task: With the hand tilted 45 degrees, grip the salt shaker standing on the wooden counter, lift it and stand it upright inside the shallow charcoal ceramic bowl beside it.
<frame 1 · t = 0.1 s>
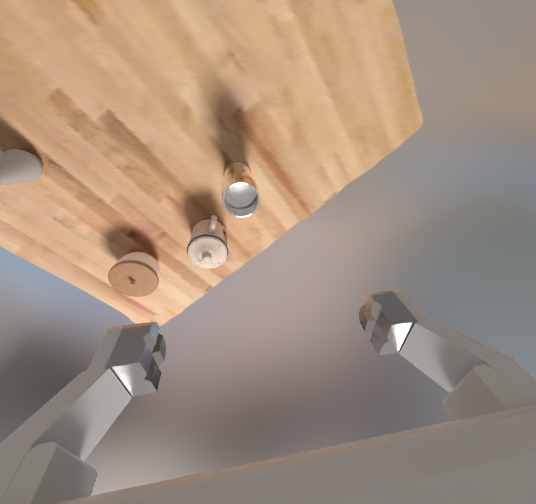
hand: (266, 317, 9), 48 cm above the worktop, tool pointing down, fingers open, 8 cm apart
lidded jar: (143, 261, 62), on the worktop
salt shaker: (31, 162, 46), on the worktop
teacup with lid: (210, 228, 60), on the worktop
beer glass: (237, 175, 53), on the worktop
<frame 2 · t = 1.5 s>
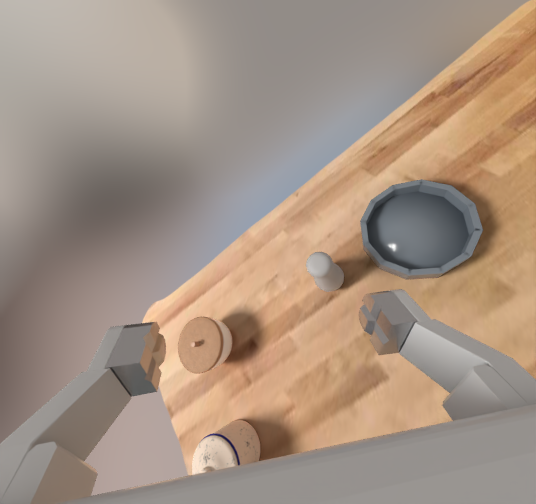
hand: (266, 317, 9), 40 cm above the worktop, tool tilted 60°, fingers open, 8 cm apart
lidded jar: (220, 342, 54), on the worktop
salt shaker: (330, 279, 48), on the worktop
bowl: (412, 232, 45), on the worktop
teacup with lid: (247, 449, 45), on the worktop
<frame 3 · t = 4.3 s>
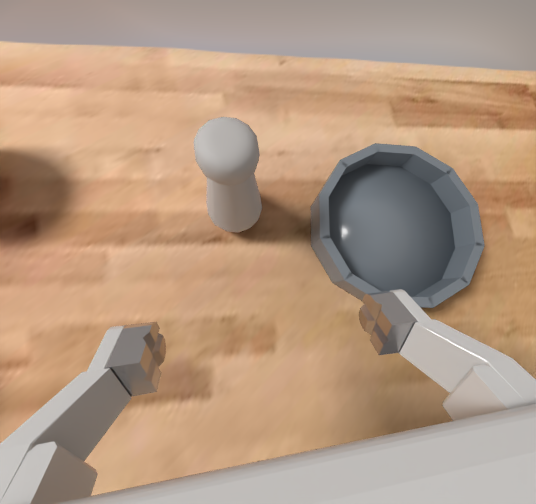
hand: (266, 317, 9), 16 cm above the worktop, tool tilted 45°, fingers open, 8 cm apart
salt shaker: (236, 214, 27), on the worktop
bowl: (383, 229, 28), on the worktop
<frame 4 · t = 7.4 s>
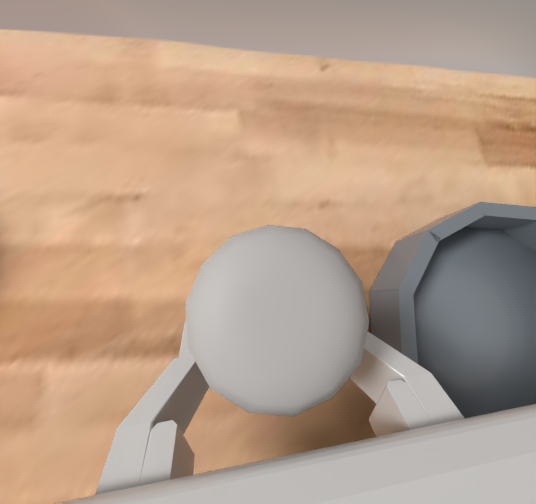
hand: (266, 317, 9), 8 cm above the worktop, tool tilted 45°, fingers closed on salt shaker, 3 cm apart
salt shaker: (255, 302, 18), on the worktop, touching gripper
bowl: (478, 328, 19), on the worktop
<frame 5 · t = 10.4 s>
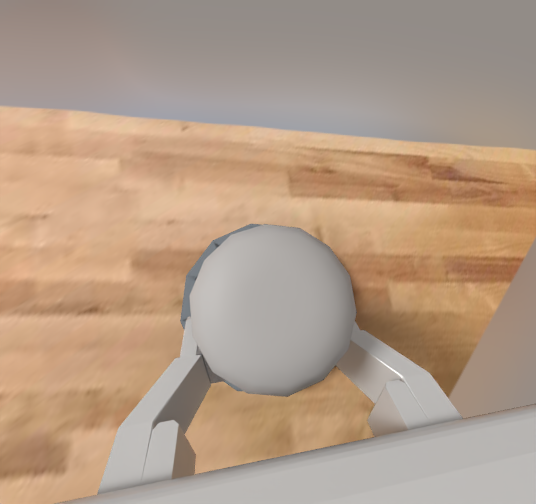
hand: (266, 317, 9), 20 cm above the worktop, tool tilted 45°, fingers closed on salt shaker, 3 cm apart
salt shaker: (254, 300, 18), point 12 cm above the worktop, touching gripper
bowl: (263, 302, 29), on the worktop
when the fingers open (11 cm above the worktop, at t = 13.3 s): salt shaker moves 5 cm, resting on bowl.
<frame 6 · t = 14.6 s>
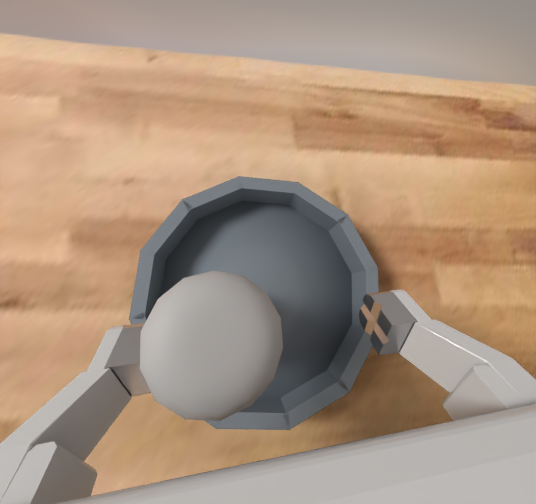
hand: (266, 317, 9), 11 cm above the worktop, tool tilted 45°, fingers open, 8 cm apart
salt shaker: (204, 322, 19), point 1 cm above the worktop, touching bowl, gripper
bowl: (259, 292, 21), on the worktop
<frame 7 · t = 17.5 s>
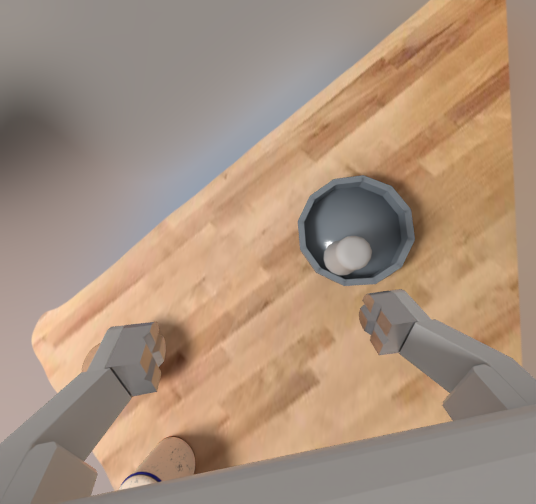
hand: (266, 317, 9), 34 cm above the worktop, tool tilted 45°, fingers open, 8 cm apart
salt shaker: (339, 258, 41), point 1 cm above the worktop, touching bowl
bowl: (350, 233, 42), on the worktop
teacup with lid: (182, 462, 43), on the worktop
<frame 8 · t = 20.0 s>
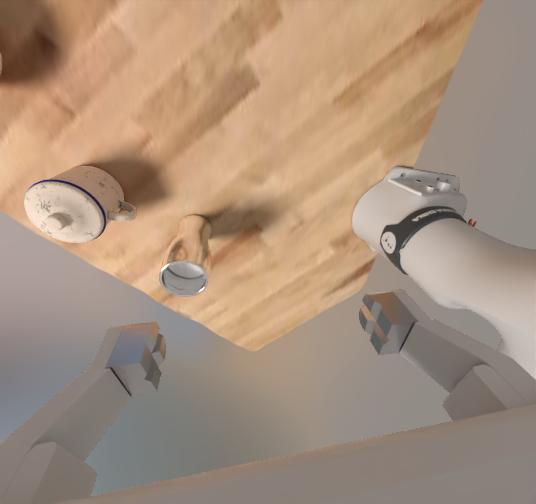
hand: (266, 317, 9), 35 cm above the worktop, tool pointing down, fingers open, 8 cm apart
teacup with lid: (106, 193, 39), on the worktop
beer glass: (195, 228, 45), on the worktop
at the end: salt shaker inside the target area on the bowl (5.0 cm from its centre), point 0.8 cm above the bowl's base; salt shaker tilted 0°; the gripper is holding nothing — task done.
